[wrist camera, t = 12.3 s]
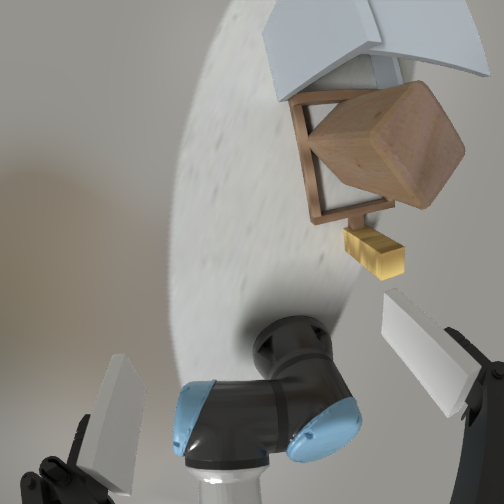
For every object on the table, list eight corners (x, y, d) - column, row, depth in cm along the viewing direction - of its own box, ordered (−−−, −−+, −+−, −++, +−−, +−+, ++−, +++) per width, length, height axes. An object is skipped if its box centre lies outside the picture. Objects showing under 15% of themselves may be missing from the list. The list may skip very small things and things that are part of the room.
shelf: (384, 96, 38) (509, 78, 13) (277, 101, 37) (368, 40, 12) (368, 35, 33) (474, -17, 9) (261, 33, 32) (318, -74, 8)
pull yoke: (390, 238, 47) (431, 263, 35) (315, 258, 46) (345, 292, 35) (372, 93, 37) (417, 81, 26) (287, 98, 36) (315, 79, 25)
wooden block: (300, 142, 39) (370, 137, 20) (340, 99, 37) (424, 75, 18) (344, 186, 42) (427, 215, 23) (380, 144, 40) (470, 151, 22)
